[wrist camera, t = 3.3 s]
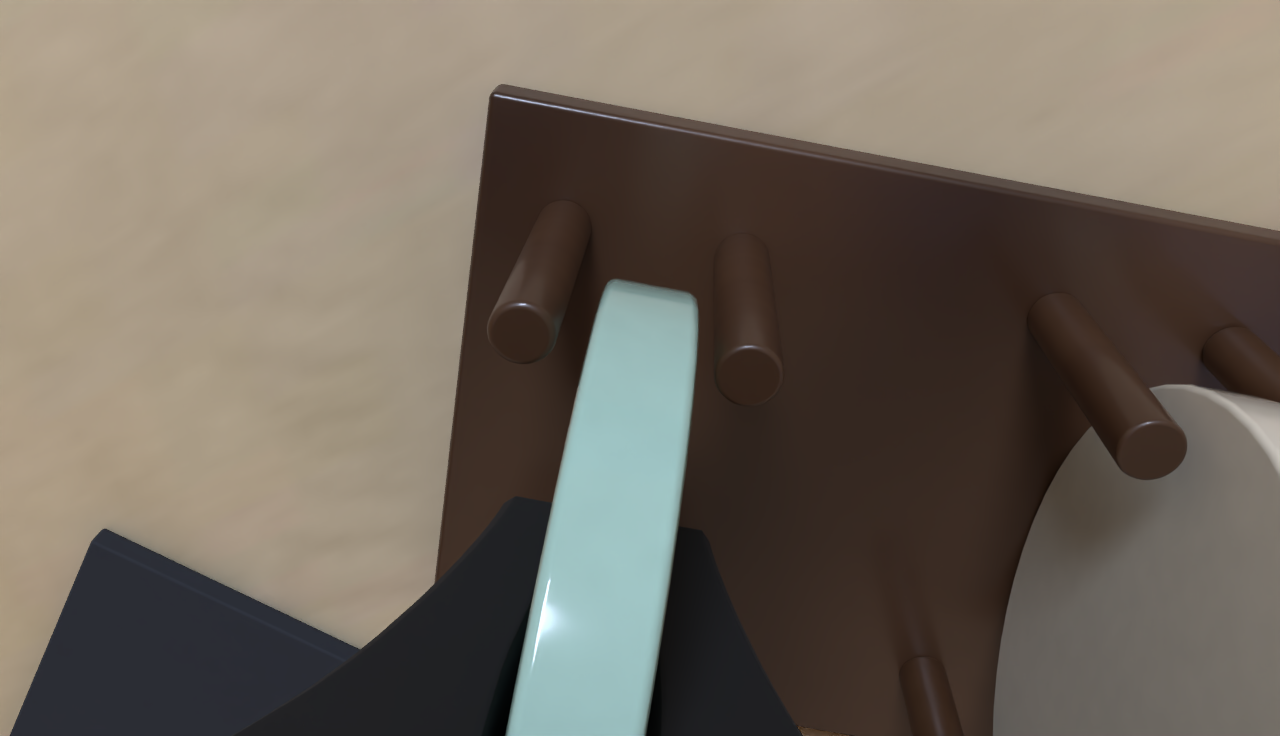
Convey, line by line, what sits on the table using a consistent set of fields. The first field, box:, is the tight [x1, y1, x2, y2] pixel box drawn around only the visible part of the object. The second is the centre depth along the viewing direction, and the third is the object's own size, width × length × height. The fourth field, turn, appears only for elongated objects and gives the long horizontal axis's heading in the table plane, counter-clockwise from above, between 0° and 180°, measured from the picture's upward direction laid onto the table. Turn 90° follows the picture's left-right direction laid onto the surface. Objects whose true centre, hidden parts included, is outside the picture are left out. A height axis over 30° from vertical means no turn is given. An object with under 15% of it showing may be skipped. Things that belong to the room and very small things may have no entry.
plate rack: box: [435, 84, 1280, 736], centre depth 14 cm, size 11×9×4 cm
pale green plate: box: [505, 278, 699, 736], centre depth 11 cm, size 1×8×8 cm, turn 170°
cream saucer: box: [993, 384, 1280, 736], centre depth 12 cm, size 1×7×7 cm, turn 170°
